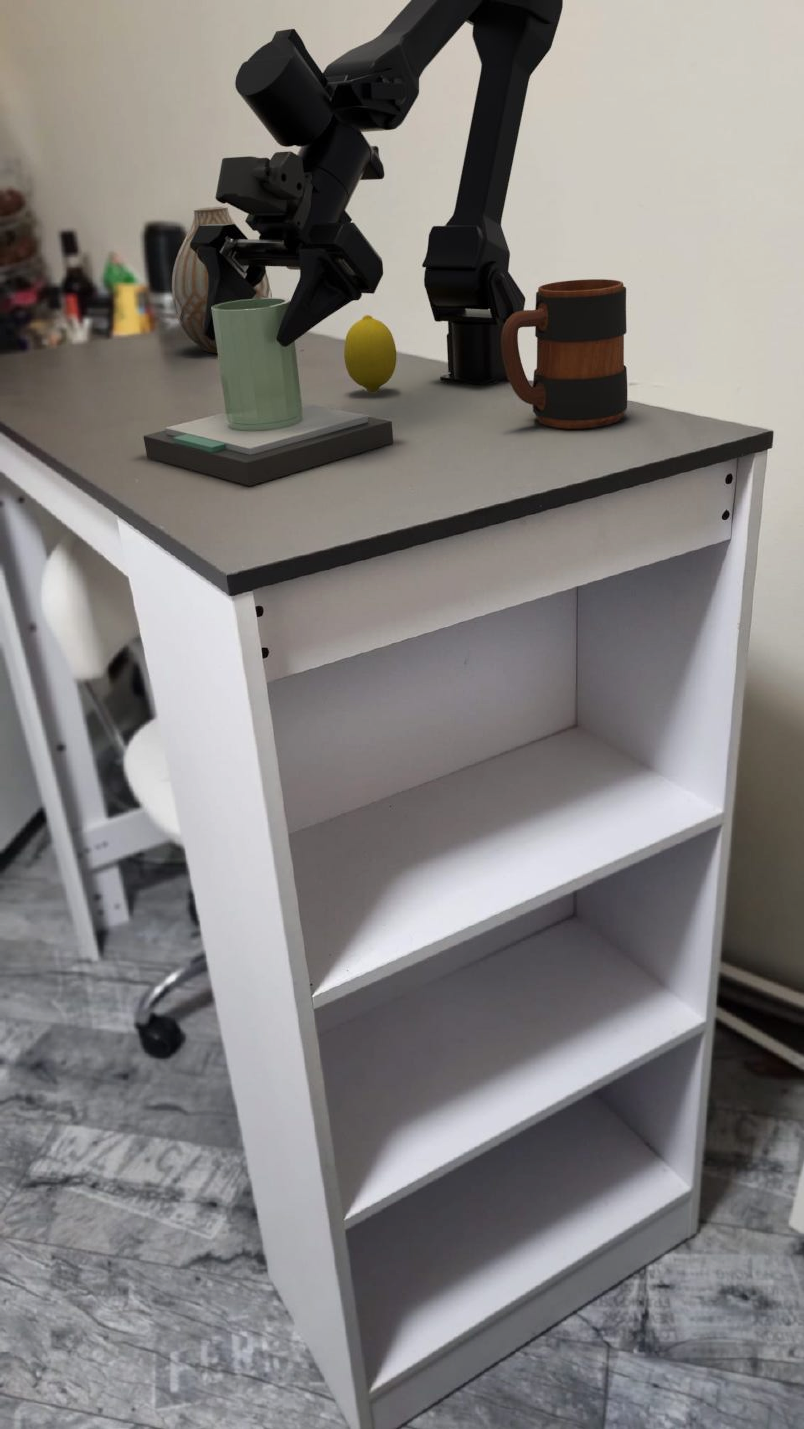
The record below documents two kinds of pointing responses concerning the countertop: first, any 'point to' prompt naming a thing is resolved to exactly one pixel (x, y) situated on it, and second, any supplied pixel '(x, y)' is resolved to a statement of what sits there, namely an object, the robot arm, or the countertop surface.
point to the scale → (267, 444)
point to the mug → (573, 353)
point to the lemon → (370, 353)
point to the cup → (256, 365)
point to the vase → (200, 280)
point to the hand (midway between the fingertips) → (243, 340)
